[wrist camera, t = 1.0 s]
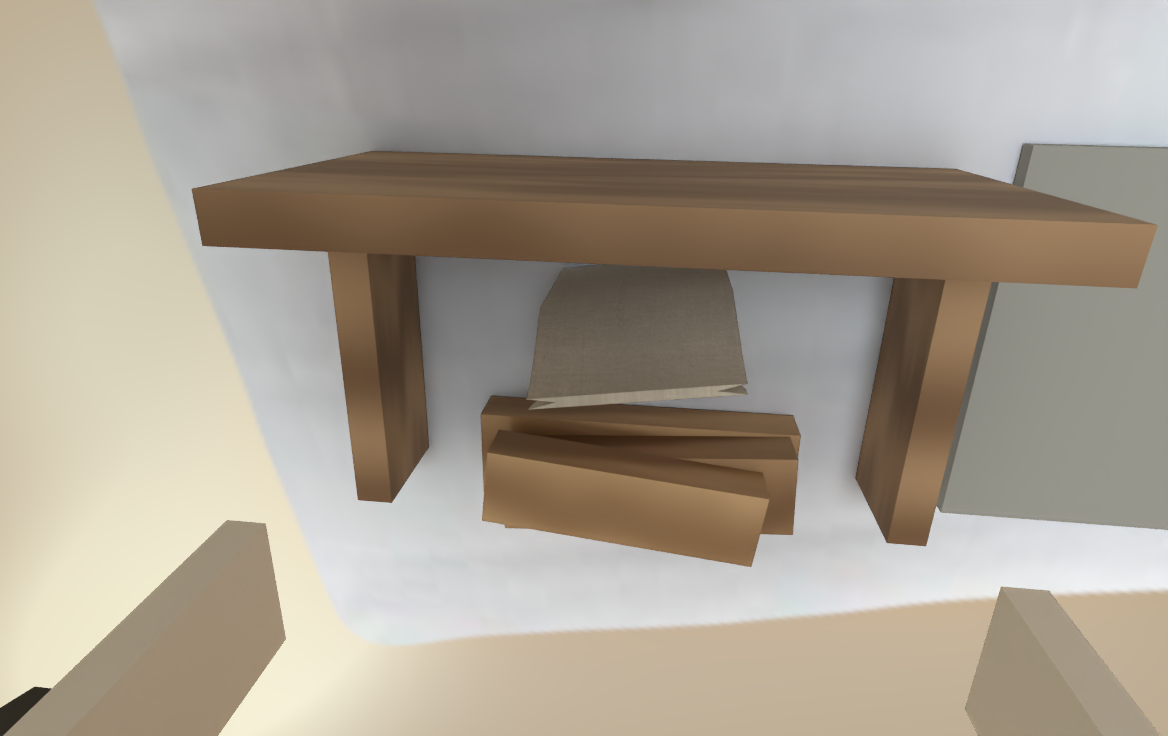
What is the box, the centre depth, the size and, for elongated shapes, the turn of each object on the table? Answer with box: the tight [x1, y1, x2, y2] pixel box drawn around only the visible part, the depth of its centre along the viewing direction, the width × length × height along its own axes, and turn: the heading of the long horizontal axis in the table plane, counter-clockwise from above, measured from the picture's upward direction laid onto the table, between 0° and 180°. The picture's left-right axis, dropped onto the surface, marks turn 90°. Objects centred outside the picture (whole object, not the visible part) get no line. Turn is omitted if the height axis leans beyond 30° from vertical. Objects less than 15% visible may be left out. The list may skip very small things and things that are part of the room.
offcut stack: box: [481, 396, 801, 567], centre depth 30 cm, size 5×14×6 cm, turn 89°
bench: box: [192, 151, 1158, 546], centre depth 25 cm, size 14×24×12 cm, turn 89°
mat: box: [936, 144, 1168, 530], centre depth 28 cm, size 16×11×1 cm
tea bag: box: [526, 264, 748, 410], centre depth 26 cm, size 4×7×10 cm, turn 97°
